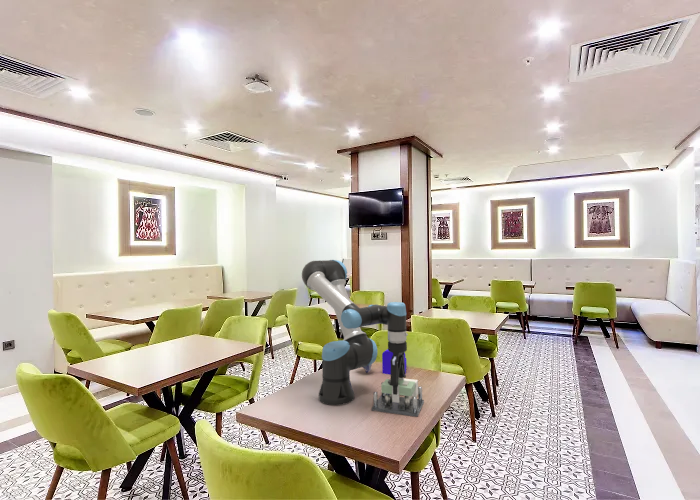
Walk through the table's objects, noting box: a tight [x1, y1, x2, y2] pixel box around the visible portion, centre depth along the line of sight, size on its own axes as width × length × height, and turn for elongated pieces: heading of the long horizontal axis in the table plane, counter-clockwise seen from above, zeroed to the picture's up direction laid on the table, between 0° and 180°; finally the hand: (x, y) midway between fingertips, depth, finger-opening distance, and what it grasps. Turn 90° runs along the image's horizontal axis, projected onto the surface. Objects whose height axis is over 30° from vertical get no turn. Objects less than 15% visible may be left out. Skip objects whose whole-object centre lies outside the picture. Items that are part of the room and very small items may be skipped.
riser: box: [404, 378, 419, 398], centre depth 162 cm, size 8×4×6 cm, turn 69°
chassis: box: [371, 381, 425, 418], centre depth 149 cm, size 18×14×7 cm
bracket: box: [381, 348, 407, 376], centre depth 196 cm, size 18×11×12 cm, turn 153°
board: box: [380, 378, 415, 397], centre depth 149 cm, size 12×8×4 cm, turn 69°
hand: (398, 397), depth 149 cm, fingers closed on board, 8 cm apart
